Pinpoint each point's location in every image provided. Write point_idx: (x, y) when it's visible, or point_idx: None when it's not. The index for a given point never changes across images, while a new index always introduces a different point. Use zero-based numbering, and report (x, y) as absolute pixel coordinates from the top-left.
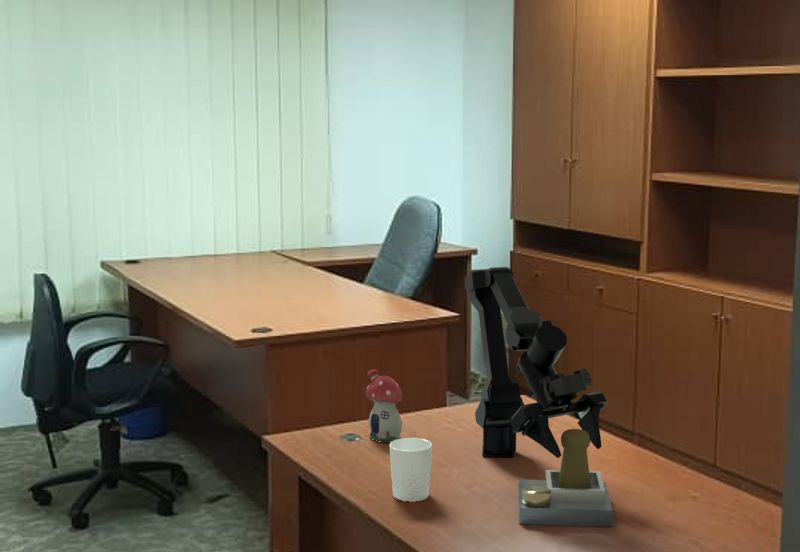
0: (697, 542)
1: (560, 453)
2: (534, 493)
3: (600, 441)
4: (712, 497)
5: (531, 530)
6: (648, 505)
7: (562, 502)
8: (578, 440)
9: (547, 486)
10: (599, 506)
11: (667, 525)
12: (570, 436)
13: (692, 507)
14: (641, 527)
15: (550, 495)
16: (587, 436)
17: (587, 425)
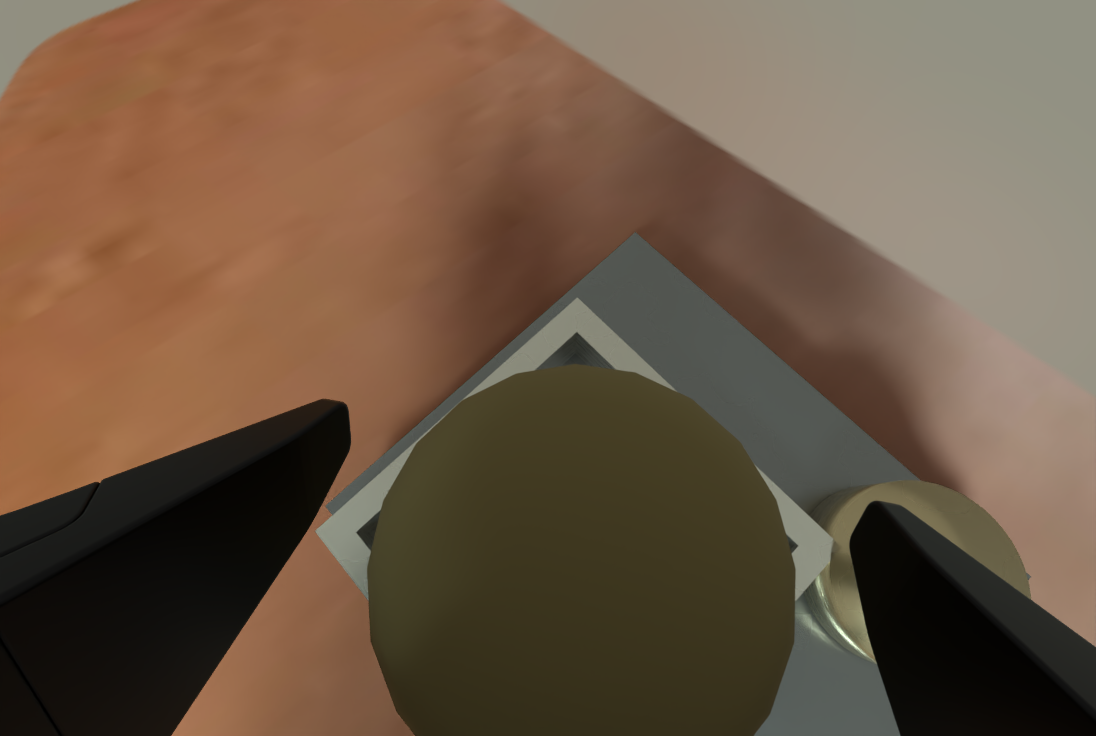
0: (505, 28)
1: (894, 505)
2: (969, 554)
3: (293, 412)
4: (68, 205)
5: (947, 473)
6: (316, 316)
7: (761, 459)
8: (696, 403)
9: (809, 584)
10: (647, 299)
11: (450, 157)
12: (768, 516)
13: (221, 196)
14: (539, 202)
15: (853, 494)
16: (527, 375)
17: (74, 723)
